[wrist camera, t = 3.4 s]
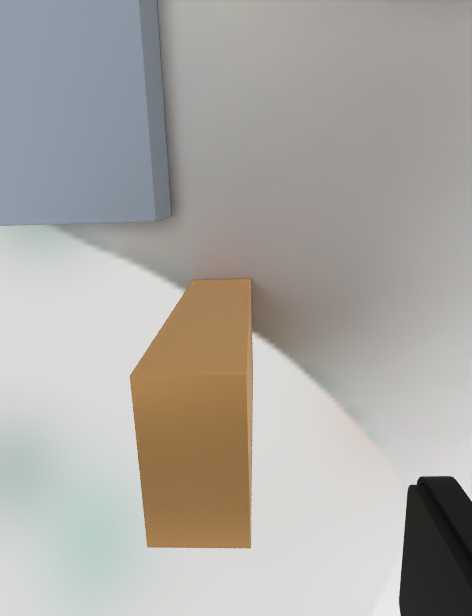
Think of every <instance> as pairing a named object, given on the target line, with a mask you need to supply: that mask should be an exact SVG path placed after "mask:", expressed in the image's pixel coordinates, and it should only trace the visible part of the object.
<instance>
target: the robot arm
mask: <svg viewBox="0 0 472 616" xmlns="http://www.w3.org/2000/svg"><path fill="white" fill-rule="evenodd" d="M399 605H400V613H401V616H472V501H471V500H470V499H469V497H468V496H467V494H466V493H465V492H464V490H463V489H462V488H461V486H460V485H459V483H458V482H457V481H456V480H455V479H454V478H453V477H451V476H430V477H420V478H419V479H418V481H417V485H410V486H409V488H408V495H407V507H406V520H405V532H404V545H403V558H402V570H401V583H400V595H399Z"/></svg>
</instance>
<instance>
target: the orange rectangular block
mask: <svg viewBox="0 0 472 616" xmlns="http://www.w3.org/2000/svg"><path fill="white" fill-rule="evenodd" d="M130 381H131V390H132V400H133V410H134V420H135V430H136V440H137V450H138V459H139V469H140V479H141V488H142V498H143V508H144V518H145V528H146V538H147V547H174V548H175V547H177V548H180V547H181V548H184V547H185V548H251V481H252V480H251V479H252V399H253V396H252V395H253V394H252V393H253V362H252V313H251V279H209V280H193V281H192V282H191V284H190V285H189V287H188V288H187V290H186V291H185V293H184V295H183V296H182V298H181V299H180V301H179V302H178V304H177V305H176V307H175V308H174V310H173V311H172V313H171V314H170V316H169V317H168V319H167V320H166V322H165V324H164V325H163V327H162V328H161V330H160V331H159V333H158V334H157V336H156V337H155V339H154V340H153V342H152V343H151V345H150V346H149V348H148V349H147V351H146V352H145V354H144V355H143V357H142V358H141V360H140V361H139V363H138V365H137V366H136V368H135V369H134V371H133V372H132V374H131V375H130Z"/></svg>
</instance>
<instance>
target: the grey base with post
mask: <svg viewBox="0 0 472 616" xmlns="http://www.w3.org/2000/svg"><path fill="white" fill-rule="evenodd" d="M169 216H171V201H170V186H169V171H168V157H167V142H166V127H165V112H164V98H163V83H162V68H161V53H160V38H159V24H158V9H157V0H0V226H6V225H43V224H80V223H117V222H153V221H158V220H161V219H164V218H167V217H169Z"/></svg>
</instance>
